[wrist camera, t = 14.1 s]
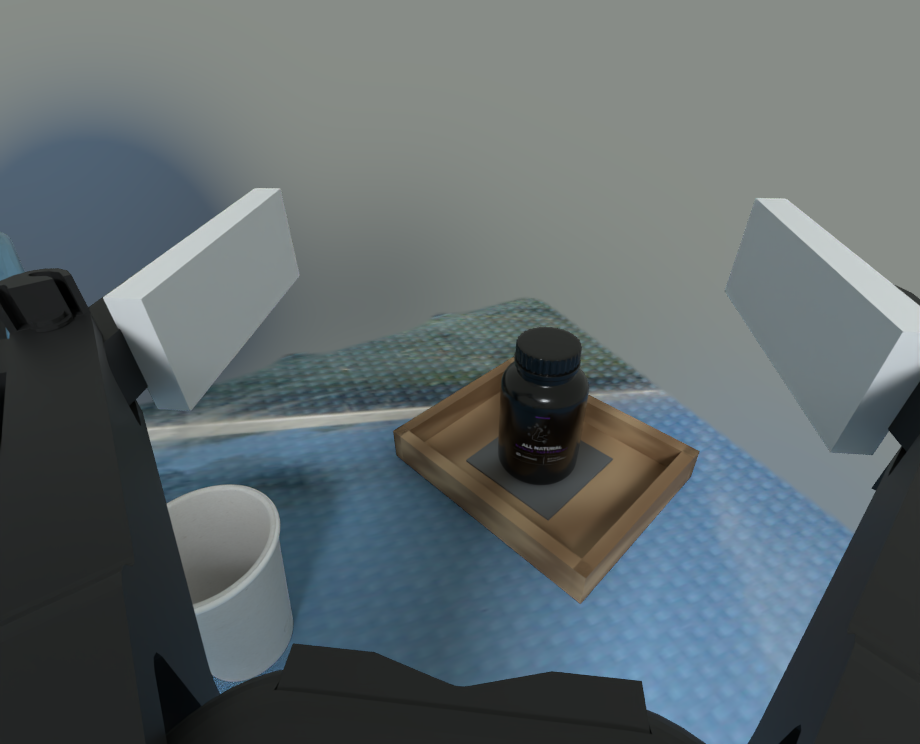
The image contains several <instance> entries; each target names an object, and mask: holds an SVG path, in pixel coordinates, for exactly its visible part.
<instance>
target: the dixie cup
mask: <svg viewBox="0 0 920 744" xmlns="http://www.w3.org/2000/svg"><path fill="white" fill-rule="evenodd" d="M167 508H168V512H169V516H170V519H171V523H172V527H173V531H174V535H175V539H176V542H177V546H178V550H179V554H180V558H181V562H182V565H183V569H184V573H185V577H186V581H187V585H188V588H189V592H190V596H191V600H192V604H193V608H194V611H195V615H196V619H197V623H198V627H199V631H200V634H201V638H202V642H203V646H204V650H205V654H206V657H207V661H208V665H209V668H210V671H211V674H212V675H213V676H214V677H216V678H218V679H220V680H223V681H228V682H238V681H244V680H248V679H250V678H253V677H255V676H257V675H259V674H261V673H263V672H264V671H266V670H267V669H268V668H270V667H271V666H272V665H273V664H274V663H275V662H276V661H277V660H278V659H279V658H280V656H281V655H282V654H283V652H284V651H285V649H286V648H287V646H288V644H289V641H290V639H291V636H292V632H293V616H292V610H291V605H290V599H289V593H288V587H287V581H286V576H285V570H284V564H283V558H282V553H281V547H280V541H279V534H280V518H279V514H278V511H277V509H276V507H275V505H274V503H273V502H272V501H271V500H270V499H269V498H268V497H267V496H266V495H265V494H263V493H262V492H260V491H258V490H256V489H253V488H250V487H247V486H242V485H217V486H211V487H206V488H202V489H199V490H195V491H192V492H190V493H187V494H185V495H182V496H180V497H178V498H176V499H174V500H172V501H171V502H169V503H167Z"/></svg>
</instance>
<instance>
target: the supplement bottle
mask: <svg viewBox="0 0 920 744" xmlns="http://www.w3.org/2000/svg"><path fill="white" fill-rule="evenodd" d="M581 351H582V347H581V343H580V340H579V339H577V337H576V336H574V335H573V334H571V333H570V332H568V331H565V330H562V329H558V328H553V327H538V328H533V329H529V330H528V331H525V332H524V333H522V334H521V335H520V336H519V337H518V339H517V342H516V352H515V356H514V362H512V363H511V364H510V365H509V366H508V367H507V368H506V370H505V371H504V373H503V376H502V379H501V391H500V413H499V436H498V457H499V460H500V463H501V465H502V466H503V468H504V469H505V470H506V472H507V473H509V474H510V475H511V476H512V477H514V478H515V479H517V480H519V481H521V482H524V483H527V484H532V485H550V484H554V483H557V482H560V481H562V480H563V479H565V478H566V477H568V476H569V475H570V474H571V472H572V471H573V469H574V468H575V465H576V462H577V457H578V452H579V446H580V440H581V435H582V429H583V423H584V417H585V412H586V406H587V400H588V393H589V384H588V380H587V378H586V376H585V374H584V372H583V371H582V370H581V369H580V363H581V360H580V357H581Z"/></svg>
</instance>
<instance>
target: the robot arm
mask: <svg viewBox="0 0 920 744" xmlns="http://www.w3.org/2000/svg"><path fill="white" fill-rule="evenodd" d="M299 276H300V274H299V270H298V266H297V261H296V256H295V252H294V247H293V243H292V238H291V234H290V229H289V225H288V220H287V216H286V211H285V207H284V203H283V199H282V193H281V189H276V188H275V189H273V188H255V189H254V190H252V191H251V192H249V193H248V194H246V195H245V196H244V197H242V198H241V199H239V200H238V201H237V202H235V203H234V204H232V205H231V206H230V207H228V208H227V209H225V210H224V211H223V212H221V213H220V214H218V215H217V216H216V217H214V218H213V219H212V220H210V221H209V222H207V223H206V224H204V225H203V226H202V227H200V228H199V229H198V230H196V231H195V232H193V233H192V234H191V235H189V236H188V237H186V238H185V239H184V240H182V241H181V242H179V243H178V244H177V245H175V246H174V247H173V248H171V249H170V250H168V251H167V252H166V253H164V254H163V255H161V256H160V257H159V258H157V259H156V260H155V261H153V262H152V263H150V264H149V265H147V266H146V267H144V268H143V269H141V270H140V271H139V272H137V273H136V274H134V275H133V276H131V278H129V279H127V280H126V281H124V282H123V283H122V284H120V285H119V286H118V287H117V288H115V289H114V290H112V291H111V292H109V293H108V294H106V295H105V296H104V297H102V298H101V299H99V300H98V301H97V302H95V303H94V304H92V305H91V306H90V307H88V306H87V305H86V302H85V301H84V299H83V297H82V295H81V293H80V291H79V289H78V287H77V285H76V283H75V281H74V279H73V277H72V276H71V274H70V273H69V272H68V271H67V270H63V269H58V268H57V269H40V270H33V271H28V272H24V269H23V267H22V264H21V262H20V260H19V257H18V255H17V252H16V250H15V247H14V245H13V243H12V241H11V239H10V238H9V237H8V236H7V235H6V234H4V233H1V232H0V744H706V743H704V742H703V741H701V740H700V739H698V738H697V737H695V736H694V735H693V734H691V733H690V732H688V731H687V730H685V729H684V728H682V727H681V726H679V725H677V724H675V723H673V722H671V721H670V720H668V719H666V718H664V717H662V716H660V715H658V714H656V713H653V712H651V711H648V710H646V704H645V698H644V692H643V686H642V681H636V680H627V679H617V678H608V677H599V676H590V675H580V674H571V673H562V672H553V671H552V672H546V673H540V674H535V675H529V676H523V677H518V678H512V679H506V680H501V681H495V682H489V683H484V684H478V685H472V686H465V687H461V686H454V685H451V684H449V683H446V682H444V681H442V680H439V679H437V678H434V677H432V676H430V675H427V674H425V673H422V672H420V671H418V670H415V669H413V668H411V667H408V666H406V665H403V664H401V663H399V662H396V661H394V660H392V659H389V658H387V657H384V656H382V655H380V654H377V653H375V652H367V651H358V650H349V649H340V648H330V647H321V646H312V645H303V644H293V645H292V648H291V650H290V653H289V656H288V659H287V661H286V664H285V667H284V670H279V671H274V672H271V673H268V674H265V675H261V676H258V677H255V678H252V679H250V680H248V681H246V682H243V683H241V684H239V685H236V686H234V687H232V688H230V689H229V690H227V691H225V692H223V693H222V694H220V693H219V691H218V689H217V687H216V684H215V682H214V680H213V677H212V674H211V671H210V668H209V665H208V661H207V657H206V654H205V650H204V646H203V642H202V638H201V634H200V631H199V627H198V623H197V619H196V615H195V611H194V608H193V604H192V600H191V596H190V592H189V588H188V585H187V581H186V577H185V573H184V569H183V565H182V562H181V558H180V554H179V550H178V546H177V542H176V539H175V535H174V531H173V527H172V523H171V519H170V516H169V512H168V508H167V504H166V500H165V496H164V493H163V489H162V485H161V481H160V477H159V473H158V469H157V466H156V462H155V458H154V454H153V450H152V446H151V443H150V439H149V435H148V431H147V427H146V423H145V420H144V416H143V412H142V410H141V408H140V406H139V405H138V403H137V401H136V399H137V398H138V396H139V395H140V394H141V393H142V392H143V391H144V390H145V389H146V388H148V390H149V393H150V395H151V397H152V399H153V401H154V403H155V405H156V407H157V409H163V410H179V411H191V410H192V409H193V408H194V406H195V405H196V404H197V403H198V401H199V400H200V399H201V398H202V396H203V395H204V394H205V393H206V392H207V390H208V389H209V388H210V387H211V385H212V384H213V383H214V382H215V380H216V379H217V378H218V377H219V375H220V374H221V373H222V372H223V370H224V369H225V368H226V367H227V365H228V364H229V363H230V362H231V360H232V359H233V358H234V357H235V355H236V354H237V353H238V352H239V350H240V349H241V348H242V347H243V345H244V344H245V343H246V342H247V341H248V339H249V338H250V337H251V335H252V334H253V333H254V332H255V330H256V329H257V328H258V327H259V325H260V324H261V323H262V322H263V321H264V319H265V318H266V317H267V316H268V315H269V313H270V312H271V311H272V310H273V308H274V307H275V306H276V305H277V303H278V302H279V301H280V300H281V298H282V297H283V296H284V295H285V293H286V292H287V291H288V290H289V288H290V287H291V286H292V285H293V283H294V282H295V281H296V280H297V279H298V277H299ZM725 292H726V294H727V296H728V297H729V299H730V300H731V302H732V303H733V305H734V306H735V308H736V309H737V311H738V312H739V314H740V315H741V317H742V319H743V320H744V322H745V323H746V325H747V326H748V328H749V329H750V331H751V332H752V334H753V335H754V337H755V338H756V340H757V341H758V343H759V344H760V346H761V348H762V349H763V351H764V352H765V354H766V355H767V357H768V358H769V360H770V361H771V363H772V364H773V366H774V367H775V369H776V370H777V372H778V373H779V375H780V377H781V378H782V379H783V381H784V383H785V384H786V386H787V387H788V389H789V390H790V391H791V393H792V395H793V396H794V398H795V399H796V401H797V402H798V404H799V406H800V407H801V409H802V410H803V412H804V413H805V415H806V416H807V418H808V419H809V421H810V422H811V424H812V425H813V427H814V428H815V430H816V431H817V433H818V435H819V436H820V438H821V439H822V440H823V442H824V444H825V445H826V447H827V448H828V450H829V451H830V452H832V453H848V454H863V455H864V454H865V455H873V454H874V452H875V451H876V449H877V448H878V446H879V445H880V443H881V442H882V440H883V439H884V437H885V436H886V435H887V433H888V431H890V432H891V434H892V435H893V436H894V437H895V438H896V440H897V441H898V442H899V443H900V444H901V448H900V449H899V451H898V452H897V453H896V455H895V456H894V458H893V459H892V460H891V462H890V463H889V465H888V466H887V467H886V469H885V470H884V471H883V473H882V474H881V476H880V477H879V478H878V480H877V481H876V483H875V484H874V486H873V487H872V489H874V490H876V492H875V494H874V496H873V498H872V500H871V502H870V504H869V506H868V508H867V510H866V512H865V514H864V516H863V518H862V520H861V522H860V524H859V526H858V528H857V530H856V532H855V534H854V536H853V538H852V540H851V542H850V544H849V546H848V548H847V550H846V552H845V553H844V555H843V557H842V559H841V561H840V563H839V565H838V567H837V569H836V571H835V573H834V575H833V577H832V579H831V581H830V583H829V585H828V587H827V589H826V591H825V593H824V595H823V597H822V599H821V601H820V603H819V605H818V607H817V609H816V611H815V613H814V615H813V617H812V619H811V621H810V623H809V625H808V627H807V629H806V631H805V633H804V635H803V637H802V639H801V641H800V643H799V645H798V647H797V649H796V651H795V653H794V655H793V657H792V659H791V661H790V663H789V665H788V667H787V669H786V671H785V673H784V675H783V677H782V679H781V681H780V683H779V685H778V687H777V689H776V691H775V693H774V695H773V697H772V699H771V701H770V703H769V705H768V707H767V709H766V711H765V713H764V715H763V717H762V719H761V721H760V723H759V725H758V727H757V728H756V730H755V732H754V734H753V736H752V737H751V739H750V741H749V742H748V744H920V299H919V298H918V297H916V296H915V295H914V294H912V293H911V292H909V291H906V290H904V289H902V288H900V287H898V286H896V285H894V284H892V283H891V282H889V281H888V280H887V279H886V278H884V277H883V276H882V275H881V274H879V273H878V272H877V271H876V270H874V269H873V268H872V267H871V266H869V265H868V264H867V263H866V262H864V261H863V260H862V259H861V258H859V257H858V256H857V255H856V254H855V253H853V252H852V251H851V250H849V249H848V248H847V247H846V246H845V245H843V244H842V243H841V242H839V241H838V240H837V239H836V238H835V237H833V236H832V235H831V234H830V233H828V232H827V231H826V230H825V229H823V228H822V227H821V226H820V225H818V224H817V223H816V222H815V221H813V220H812V219H811V218H810V217H808V216H807V215H806V214H805V213H803V212H802V211H801V210H800V209H798V208H797V207H796V206H795V205H793V204H792V203H791V202H790V201H788V200H787V199H777V198H776V199H775V198H756V199H755V202H754V205H753V208H752V211H751V214H750V217H749V220H748V223H747V226H746V229H745V232H744V235H743V238H742V241H741V244H740V247H739V250H738V253H737V256H736V259H735V262H734V265H733V268H732V270H731V274H730V277H729V280H728V282H727V285H726V288H725Z"/></svg>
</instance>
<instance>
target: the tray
mask: <svg viewBox="0 0 920 744" xmlns="http://www.w3.org/2000/svg"><path fill="white" fill-rule="evenodd" d="M512 362H514V357H512V358H511V359H509V360H507V361H506V362H504V363H503V364H501V365H499V366H498V367H496V368H494V369H493V370H491V371H490V372H488V373H486V374H485V375H483V376H482V377H480V378H478V379H477V380H475V381H473V382H472V383H470V384H469V385H467V386H465V387H464V388H462V389H460V390H459V391H457V392H456V393H454V394H452V395H451V396H449V397H447V398H446V399H444V400H443V401H441V402H439V403H438V404H436V405H435V406H433V407H431V408H430V409H428V410H426V411H425V412H423V413H422V414H420V415H418V416H417V417H415V418H413V419H412V420H410V421H409V422H407V423H405V424H404V425H402V426H400V427H399V428H397V429H396V430H394V431H393V434H394V441H395V448H396V455H397V456H398V457H399V458H400V459H402V460H403V461H404V462H405V463H407V464H408V465H409V466H410V467H411V468H413V469H414V470H415V471H416V472H418V473H419V474H420V475H421V476H423V477H424V478H425V479H426V480H428V481H429V482H430V483H431V484H433V485H434V486H435V487H436V488H437V489H439V490H440V491H441V492H442V493H444V494H445V495H446V496H447V497H449V498H450V499H451V500H452V501H454V502H455V503H456V504H457V505H459V506H460V507H461V508H462V509H463V510H465V511H466V512H467V513H468V514H470V515H471V516H472V517H473V518H475V519H476V520H477V521H478V522H480V523H481V524H482V525H483V526H485V527H486V528H487V529H488V530H489V531H491V532H492V533H493V534H494V535H496V536H497V537H498V538H499V539H501V540H502V541H503V542H504V543H506V544H507V545H508V546H509V547H511V548H512V549H513V550H514V551H515V552H517V553H518V554H519V555H520V556H522V557H523V558H524V559H525V560H527V561H528V562H529V563H530V564H532V565H533V566H534V567H535V568H537V569H538V570H539V571H540V572H541V573H543V574H544V575H545V576H546V577H548V578H549V579H550V580H551V581H553V582H554V583H555V584H556V585H558V586H559V587H560V588H561V589H563V590H564V591H565V592H566V593H567V594H569V595H570V596H571V597H572V598H574V599H575V600H576V601H577V602H579V603H580V604H581V603H582V602H583V601H584V599H585V598H586V597H587V596H588V595H589V594H590V593H591V591H592V590H593V589H594V588H595V587H596V586H597V584H598V583H599V582H600V581H601V580H602V579H603V578H604V576H605V575H606V574H607V573H608V572H609V571H610V569H611V568H612V567H613V566H614V565H615V564H616V563H617V561H618V560H619V559H620V558H621V557H622V556H623V554H624V553H625V552H626V551H627V550H628V549H629V548H630V546H631V545H632V544H633V543H634V542H635V541H636V539H637V538H638V537H639V536H640V535H641V534H642V532H643V531H644V530H645V529H646V528H647V527H648V526H649V524H650V523H651V522H652V521H653V520H654V519H655V517H656V516H657V515H658V514H659V513H660V512H661V511H662V509H663V508H664V507H665V506H666V505H667V504H668V502H669V501H670V500H671V499H672V498H673V497H674V496H675V494H676V493H677V492H678V491H679V490H680V489H681V487H682V486H683V485H684V484H685V483H686V482H687V481H688V479H689V478H690V477H691V475H692V472H693V469H694V466H695V463H696V460H697V457H698V454H699V452H700V451H698V450H696V449H694V448H692V447H690V446H688V445H686V444H684V443H682V442H680V441H678V440H676V439H674V438H672V437H670V436H668V435H667V434H665V433H663V432H661V431H659V430H657V429H655V428H653V427H651V426H649V425H647V424H645V423H643V422H641V421H639V420H637V419H635V418H633V417H631V416H629V415H627V414H625V413H623V412H621V411H619V410H617V409H615V408H613V407H611V406H609V405H608V404H606V403H604V402H602V401H600V400H598V399H596V398H594V397H592V396H590V395H588V400H587V406H586V412H585V417H584V423H583V429H582V435H581V440H580V446H579V452H578V457H577V462H576V465H575V468H574V469H573V471H572V472H571V474H570V475H569V476H568V477H566V478H565V479H563V480H562V481H560V482H557V483H554V484H550V485H532V484H527V483H524V482H521V481H519V480H517V479H515V478H514V477H512V476H511V475H510V474H509V473H507V472H506V470H505V469H504V468H503V466H502V465H501V463H500V460H499V457H498V436H499V413H500V391H501V379H502V376H503V373H504V371H505V370H506V368H507V367H508V366H509V365H510V364H511V363H512Z"/></svg>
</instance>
